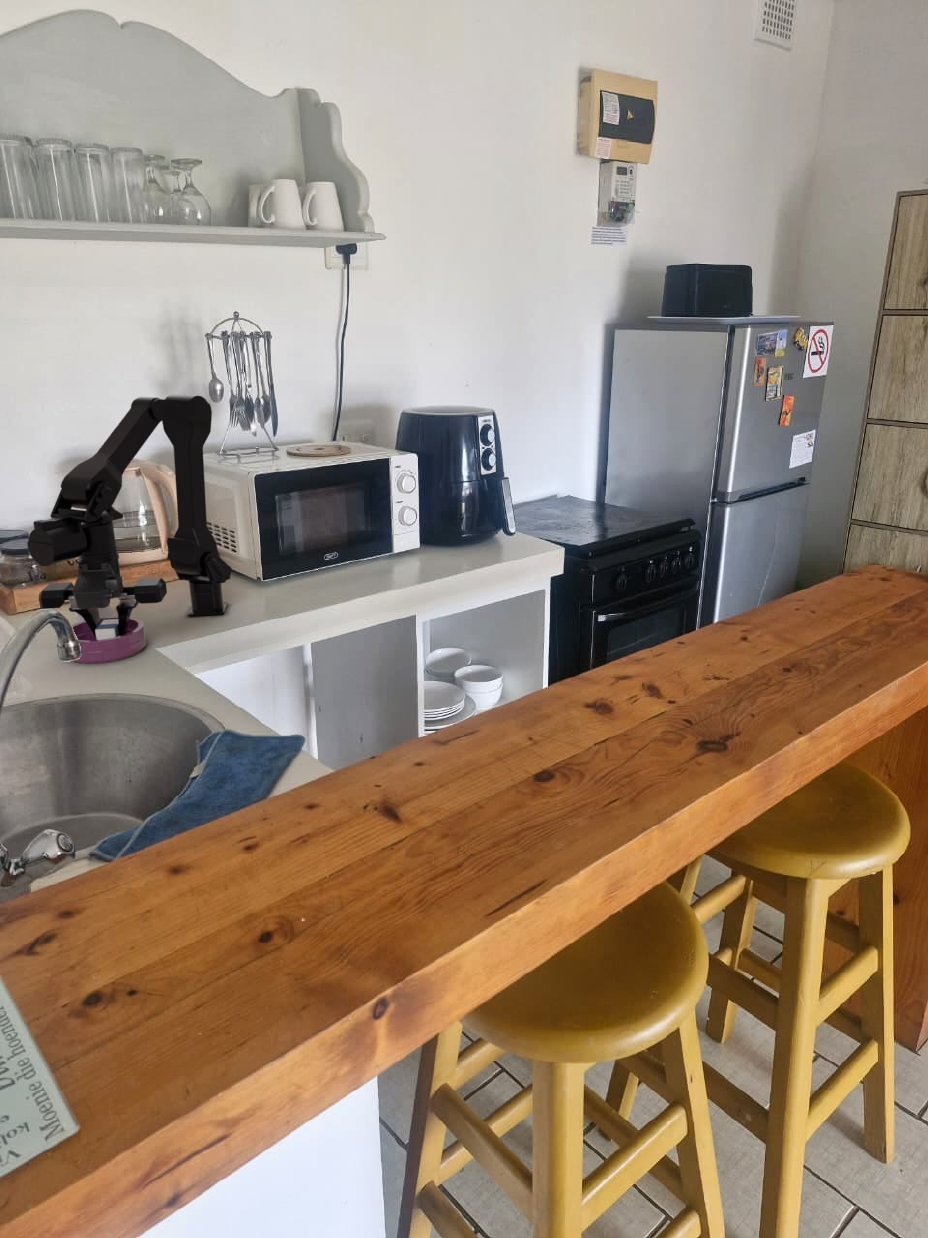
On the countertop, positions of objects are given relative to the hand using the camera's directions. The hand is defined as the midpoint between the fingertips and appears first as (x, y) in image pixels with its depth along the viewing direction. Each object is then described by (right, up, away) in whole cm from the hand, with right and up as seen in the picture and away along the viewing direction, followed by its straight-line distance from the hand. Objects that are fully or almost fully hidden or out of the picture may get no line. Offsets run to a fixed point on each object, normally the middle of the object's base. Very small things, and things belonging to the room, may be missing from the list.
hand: (111, 642), depth 144 cm
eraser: (0, -1, 0) cm, 1 cm away
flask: (-8, +2, +13) cm, 15 cm away
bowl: (-1, -2, 0) cm, 2 cm away
